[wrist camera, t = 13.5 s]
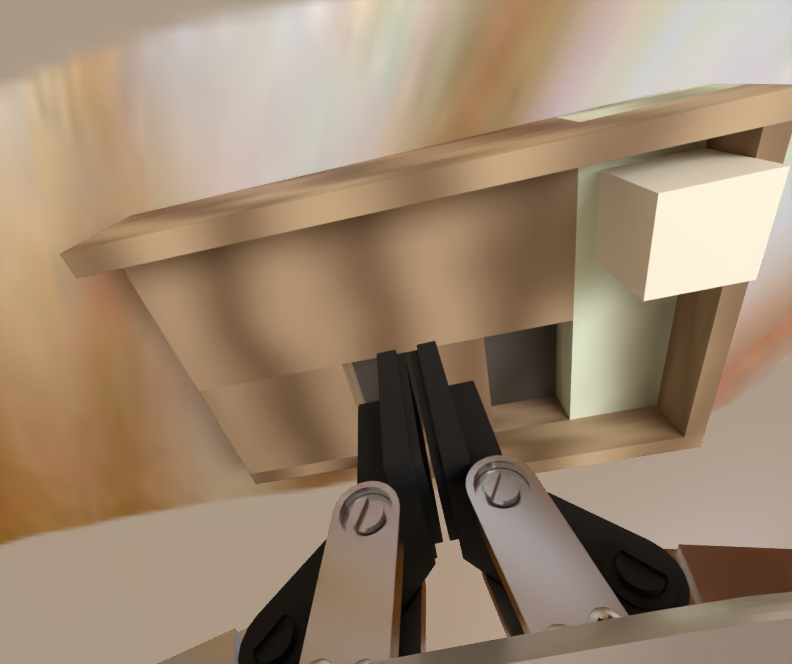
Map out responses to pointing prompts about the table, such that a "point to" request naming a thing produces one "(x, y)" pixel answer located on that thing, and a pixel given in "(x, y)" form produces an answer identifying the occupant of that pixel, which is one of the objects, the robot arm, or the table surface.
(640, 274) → the ivory block
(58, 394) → the table surface
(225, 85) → the table surface
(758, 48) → the table surface
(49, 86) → the table surface
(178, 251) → the box
